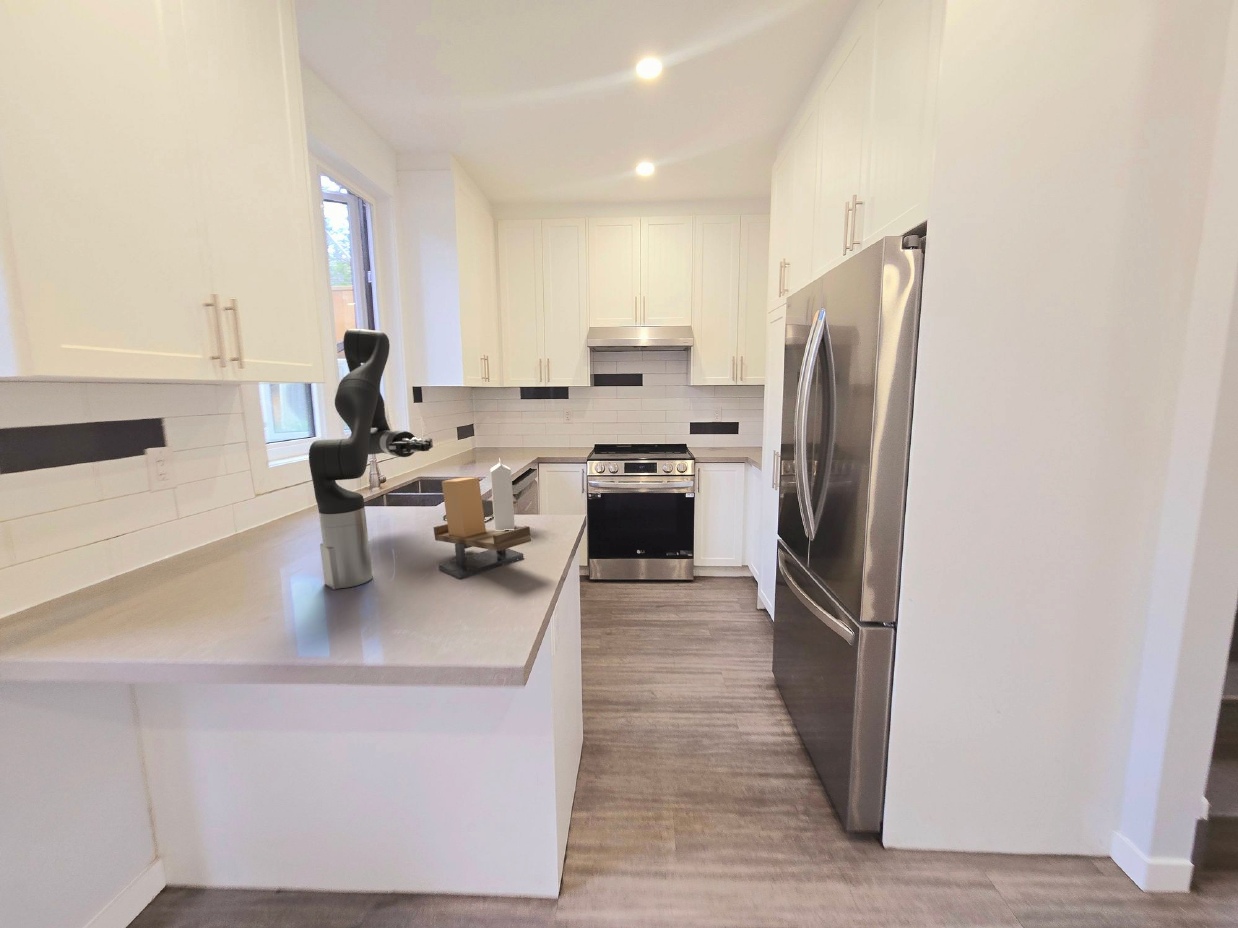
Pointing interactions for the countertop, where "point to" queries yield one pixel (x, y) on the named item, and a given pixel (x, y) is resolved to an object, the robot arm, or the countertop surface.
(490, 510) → the hardcover book
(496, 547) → the beam
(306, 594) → the countertop surface
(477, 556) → the pivot stand
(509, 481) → the milk
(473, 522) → the block
